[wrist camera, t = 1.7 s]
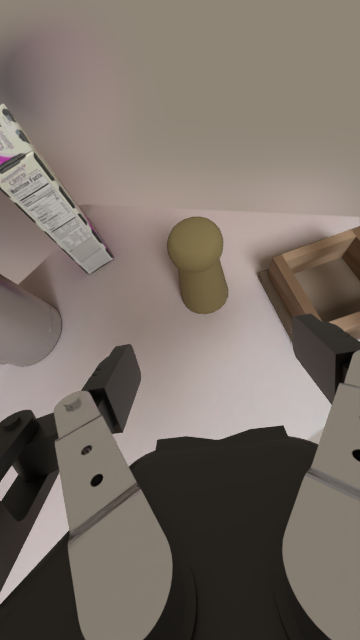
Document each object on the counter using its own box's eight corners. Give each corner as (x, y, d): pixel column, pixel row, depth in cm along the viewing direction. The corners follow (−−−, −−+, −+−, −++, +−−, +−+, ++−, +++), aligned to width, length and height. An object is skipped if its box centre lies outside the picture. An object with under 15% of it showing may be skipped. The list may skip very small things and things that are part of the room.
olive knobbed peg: (200, 323, 29) (185, 274, 19) (172, 291, 31) (146, 233, 21) (238, 293, 29) (243, 230, 19) (207, 264, 32) (198, 195, 22)
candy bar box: (63, 234, 40) (-38, 124, 25) (88, 218, 40) (4, 100, 25) (87, 278, 35) (-17, 176, 20) (116, 259, 35) (33, 145, 20)
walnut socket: (300, 358, 25) (314, 347, 21) (258, 276, 30) (262, 254, 26) (403, 324, 24) (438, 305, 20) (344, 246, 29) (363, 218, 25)
